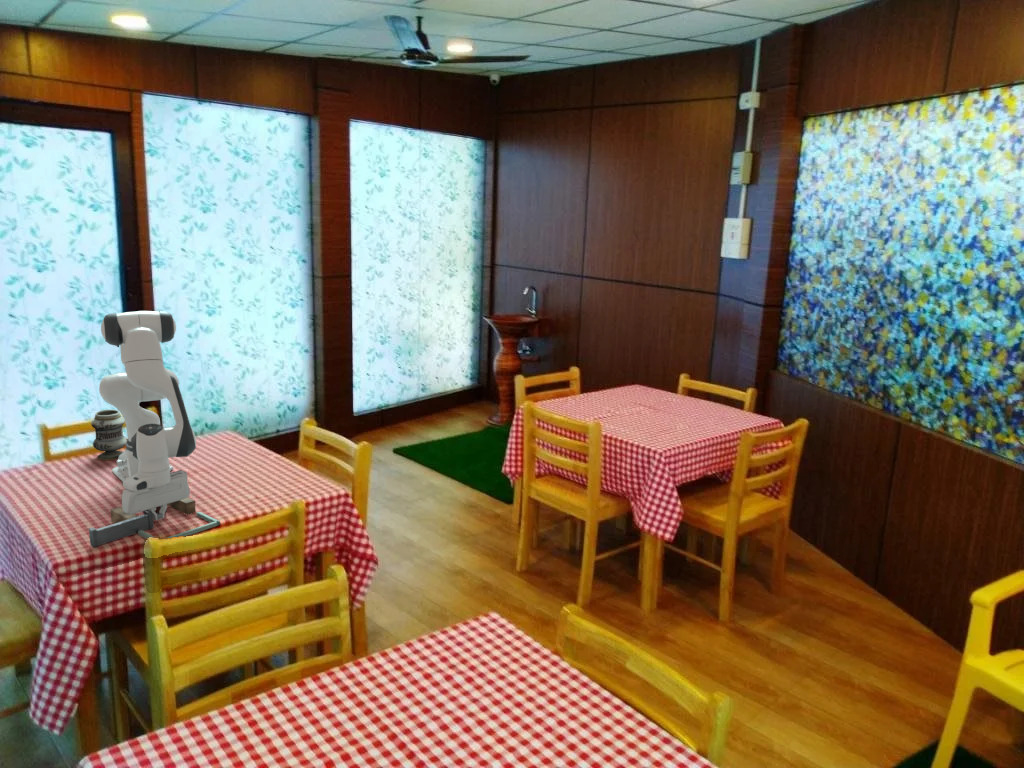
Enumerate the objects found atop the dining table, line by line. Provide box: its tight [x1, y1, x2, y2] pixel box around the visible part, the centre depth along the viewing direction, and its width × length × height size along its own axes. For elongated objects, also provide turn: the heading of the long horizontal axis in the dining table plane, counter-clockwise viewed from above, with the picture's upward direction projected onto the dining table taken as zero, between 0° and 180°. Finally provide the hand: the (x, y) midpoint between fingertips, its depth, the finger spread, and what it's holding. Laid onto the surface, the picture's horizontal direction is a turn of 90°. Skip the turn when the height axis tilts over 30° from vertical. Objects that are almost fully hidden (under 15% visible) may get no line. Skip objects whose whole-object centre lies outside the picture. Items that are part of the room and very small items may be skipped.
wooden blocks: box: [110, 497, 197, 524], centre depth 252 cm, size 13×21×4 cm, turn 142°
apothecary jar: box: [90, 409, 128, 461], centre depth 307 cm, size 12×12×18 cm
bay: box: [137, 511, 221, 539], centre depth 243 cm, size 12×20×1 cm, turn 142°
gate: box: [88, 511, 155, 548], centre depth 236 cm, size 2×18×5 cm, turn 142°
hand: (158, 519), depth 245 cm, fingers closed
